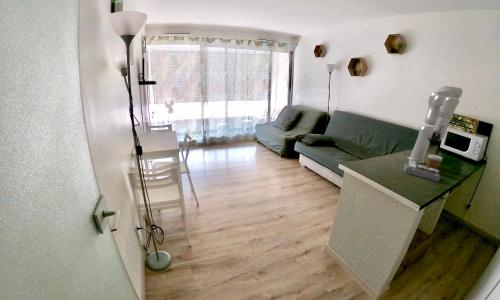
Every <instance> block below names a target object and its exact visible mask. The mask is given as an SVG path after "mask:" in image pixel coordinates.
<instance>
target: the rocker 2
mask: <svg viewBox="0 0 500 300" xmlns="http://www.w3.org/2000/svg"><path fill="white" fill-rule="evenodd" d="M417 166H418V167H420V168H423V169H428V168H427V167H426V165H420V164H418V165H417Z"/></svg>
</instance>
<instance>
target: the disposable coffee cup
mask: <svg viewBox="0 0 500 300" xmlns="http://www.w3.org/2000/svg"><path fill="white" fill-rule="evenodd" d="M442 162H443V156H439V155H437V154H432V153H431V154H428V155H427V160H426V163H425V167H427V168H428V169H429V168H433V169H436V170H437V168H438V166H439V165H440V163H442Z"/></svg>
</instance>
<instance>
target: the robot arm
mask: <svg viewBox="0 0 500 300" xmlns="http://www.w3.org/2000/svg"><path fill="white" fill-rule="evenodd" d="M437 91H438V92H437ZM437 91H435V92H431V93H430V95H429V97H428V101H427V103H428V109H427V112H426V116H425V119H424V123H425V125H422V126H421V127H420V128H419V131H418V136H417V137H416V141H415V144H414V147H413V149H412V150H411V151H412V152H411V154H410V155H409V156H407V159H408V161H409V160H411V161H415V162H416V164H417V163H418V164H425V161H424V158H425V155H426V154H427V151H428V149H429V147H430V140H429V139H432V141H433V142H439V141H441V140H443V139H444V138H445V136H446V133H447V130H448V127H449V124H450V120H452V118H453V116H454V113H455V111H456V109H457V107H458V106H459V103H460V98H461V97H462V95H463V89H462V88H461V87H458V86H457V87H456V86H448V85H444V86H442V87H439V89H438V90H437Z"/></svg>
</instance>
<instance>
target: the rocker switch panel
mask: <svg viewBox="0 0 500 300" xmlns="http://www.w3.org/2000/svg"><path fill="white" fill-rule="evenodd" d="M403 171H404V173H406V174H408V175H412V176H416V177H420V178H423V179H426V180H430V181H434V182H440V180H441V177H442V176H440V173H439V172H435V171H431V170H429V169H423V168H420V167H418V165H416V169H414V168H410V167H409V163H407V162H405V163H404V166H403Z"/></svg>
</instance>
